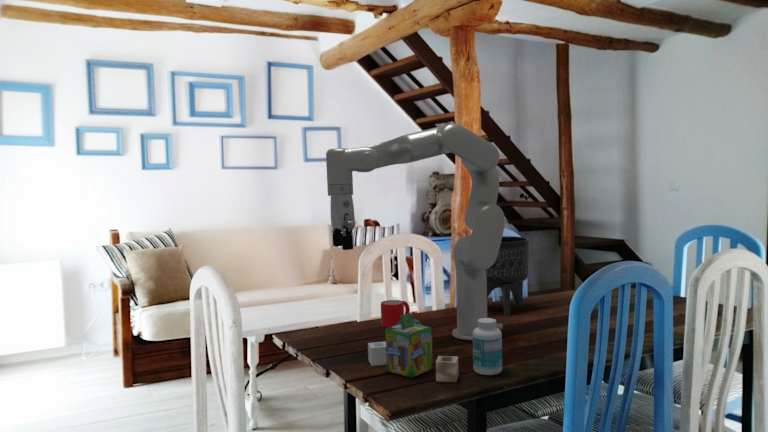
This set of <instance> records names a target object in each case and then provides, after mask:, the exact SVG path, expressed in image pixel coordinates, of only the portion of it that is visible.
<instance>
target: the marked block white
mask: <svg viewBox="0 0 768 432" xmlns="http://www.w3.org/2000/svg"><path fill="white" fill-rule="evenodd" d="M367 356H368V362H369V363H370V366H371V367H373V366H387V365H386V341H375V342H374V341H373V342H367Z"/></svg>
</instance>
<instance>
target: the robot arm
mask: <svg viewBox="0 0 768 432" xmlns="http://www.w3.org/2000/svg"><path fill="white" fill-rule="evenodd" d="M450 153H452V154H454V155H455V156H456V157H458V158H460V161H461V163H462V165H463V167H464V168H465V169H466V171H468V173H469V175H470V180H471V186H470V187H471V188H470V192H469V195H468V196H469V197H468V200H467V204H466V205H467V206H466V209H465V213H464V225H465V226H466V227H467V228H468V229H469V230H470V231H471V233H470V234H468V235H464V236H461V237H460V238H458V240H457V241H456V242H455V244H454V247H453V251H452V252H453V262H454V263H453V264H454V267H455V268H454V269H455V283H456V285H455V288H456V290H455V294H456V328H454V329H453V330H452V336H453V337H454V338H455V339H456V338H457V339H460V340H466V341H473V331H474V329H475V328H477V327H479V326H478V319H481V318H488V300H487V277H486V269H488V268H490V267H491V266H492V265H493V264H494V262H495V261H496V258H497V256H498V252H499V248H500V244H501V240H502V236H504V235H503V234H504V230H505V226H506V216H505V214H504V211H503V209H502V208H501V207H500V206H499V205H498V204H497V201H498V197H499V196H498V195H499V192H500V191H499V189H500V176H499V174H498V171H497V169H496V167H497V165H498V163H499V161H500V152H499V150H498V148H497V147H496V146H495V145H494V144H493V143H492V142H490V141H489V140H488V139H485V138H483V137H481V136H480V135H478V134H476V133H475V132H473V131H471V130H470V129H468V128H466V127H465V126H463V125H461V124H458V123H449V124H444V125H441V126H436V127H432V128H428V129H423V130H420V131H416V132H415V131H414V132H411V133H406V134H404V135H401V136H397V137H395V138H393V139H390V140H387V141H383V142H379V143H375V144H371V145H367V146H366V145H365V146H361V147H356V148H345V147H344V148H343V147H341V148H330V149H328V150H327V151H326V154H325V159H326V160H325V163H326V180H327V183H326V184H327V196H328V197H330V223H331V224H330V225H331V227H332V230H331V231H332V246H333V247H342V251H347V250H353V249H354V232H353V231H354V228H356V218H355V217H356V216H355V206H354V199H353V195H354V185H353V184H354V181H353V180H354V179H353V172H357V173H371V172H372V171H374V170H376V169H380V168H381V169H382V168H384V167H389V166H394V165H404V164H405V165H406V164H411V163H414V162H415V163H416V162H418V161H423V160H426V159H430V158H434V157H438V156H443V155H446V154H450ZM503 324H504V323H502V322H497V321H496V326H495V327H496V328H498V329H499V330H503V329H504V325H503Z"/></svg>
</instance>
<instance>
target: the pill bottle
mask: <svg viewBox="0 0 768 432" xmlns="http://www.w3.org/2000/svg"><path fill="white" fill-rule="evenodd" d="M496 322H497V319H495V318H491V317H487V318H481V319H478V326H479V327H477V328H475V329H474V331H473V340H472V365H473V366H472V367H473V372H475V373H477V374H479V375H484V376H494V375H498V374H500V373H502V371H503V333H502V331H501V329H498V328H496V327H495V326H496Z"/></svg>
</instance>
